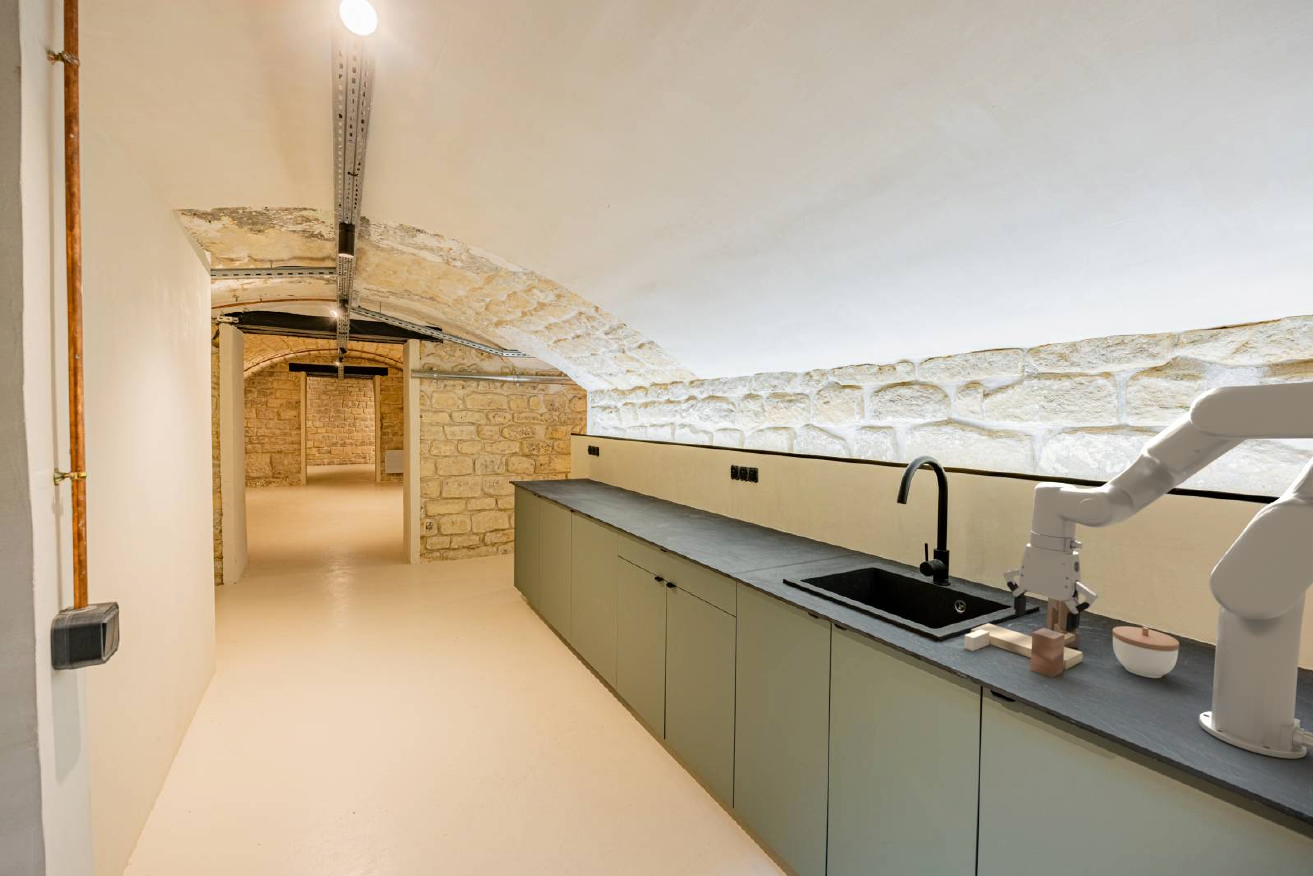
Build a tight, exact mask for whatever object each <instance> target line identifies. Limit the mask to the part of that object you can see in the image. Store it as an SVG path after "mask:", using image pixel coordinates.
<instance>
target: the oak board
mask: <svg viewBox="0 0 1313 876" xmlns="http://www.w3.org/2000/svg"><path fill="white" fill-rule="evenodd" d="M980 629H982V630H985V631H988V632H989V645H991V646H994V647H997V648H1000V649H1003V650H1006V651H1008V652H1013V653H1015V654H1018V655H1021V656H1024V657H1027V658H1030V659H1031V651H1032V635H1028V634H1025V633H1021V632H1018V631H1015V630H1014V631H1013V630H1011V629H1008V628H1005V627H1002V626H998V625H995V624H992V623H989V622H988V623H985V624H982V625H980V626H977V627H975V628H971V629H970V633H972V632H975V631H977V630H980ZM1082 662H1083V652H1082V651H1080V650H1076V649H1073V648H1071V647H1065V646H1064V658H1063V670H1068V669H1070V668H1073V667H1074V666H1076V665H1078V664H1080V663H1082Z"/></svg>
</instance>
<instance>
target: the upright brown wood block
mask: <svg viewBox="0 0 1313 876" xmlns="http://www.w3.org/2000/svg"><path fill="white" fill-rule="evenodd" d="M1031 637H1032V651H1031V658H1030V671H1033V672H1036V673H1039V674H1041V675H1044V676H1047V677H1050V678H1053V677H1055V676H1058V675H1059V674H1061V673H1063V672H1064V669H1063V658H1064V647H1065V646H1064V645H1065V644H1068V643H1070V642H1072V641H1074V640H1075V635H1074V634H1071V633H1068V634H1062V633H1059V632H1056V631H1052V630H1049V629H1047V628H1044V627H1042V628H1040V629H1038V630H1034V631H1033V632H1032V635H1031Z"/></svg>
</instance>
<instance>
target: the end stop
mask: <svg viewBox="0 0 1313 876" xmlns="http://www.w3.org/2000/svg"><path fill="white" fill-rule="evenodd" d="M963 643H964V645H963V649H965V650H969V651H972V652H974V651H977V650H979V649H981V648H984V647H986V646H989V645H990V644H989V632H988V631H985V630H982V629H980V630H977V631H975V632H972V633H971V632H970V633H965V634H964V642H963Z"/></svg>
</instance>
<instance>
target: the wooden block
mask: <svg viewBox="0 0 1313 876" xmlns="http://www.w3.org/2000/svg"><path fill="white" fill-rule="evenodd" d="M1079 597H1080V596H1079ZM1079 597H1078V598H1077V600H1078V601H1079V600H1080V598H1079ZM1079 602H1080V601H1079ZM1068 612H1070V609H1069V608H1068V606H1067V605H1066V603H1065V602H1064V601H1060V600H1056V599H1052V598H1049V597H1047V611H1046V613H1047V615H1046V629H1049V630H1052V631H1056V632H1059V633H1062V634H1068V633H1071V634H1074V635H1075V640H1074V641H1072V642H1070V643H1068V644H1065V645H1064V647H1067V648H1072V649H1073V648H1074V649H1079V647H1080V633H1079V632H1078V628H1077V629H1076V630H1074V631H1072V632H1068V631H1067V630H1066V623H1067V613H1068Z"/></svg>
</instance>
